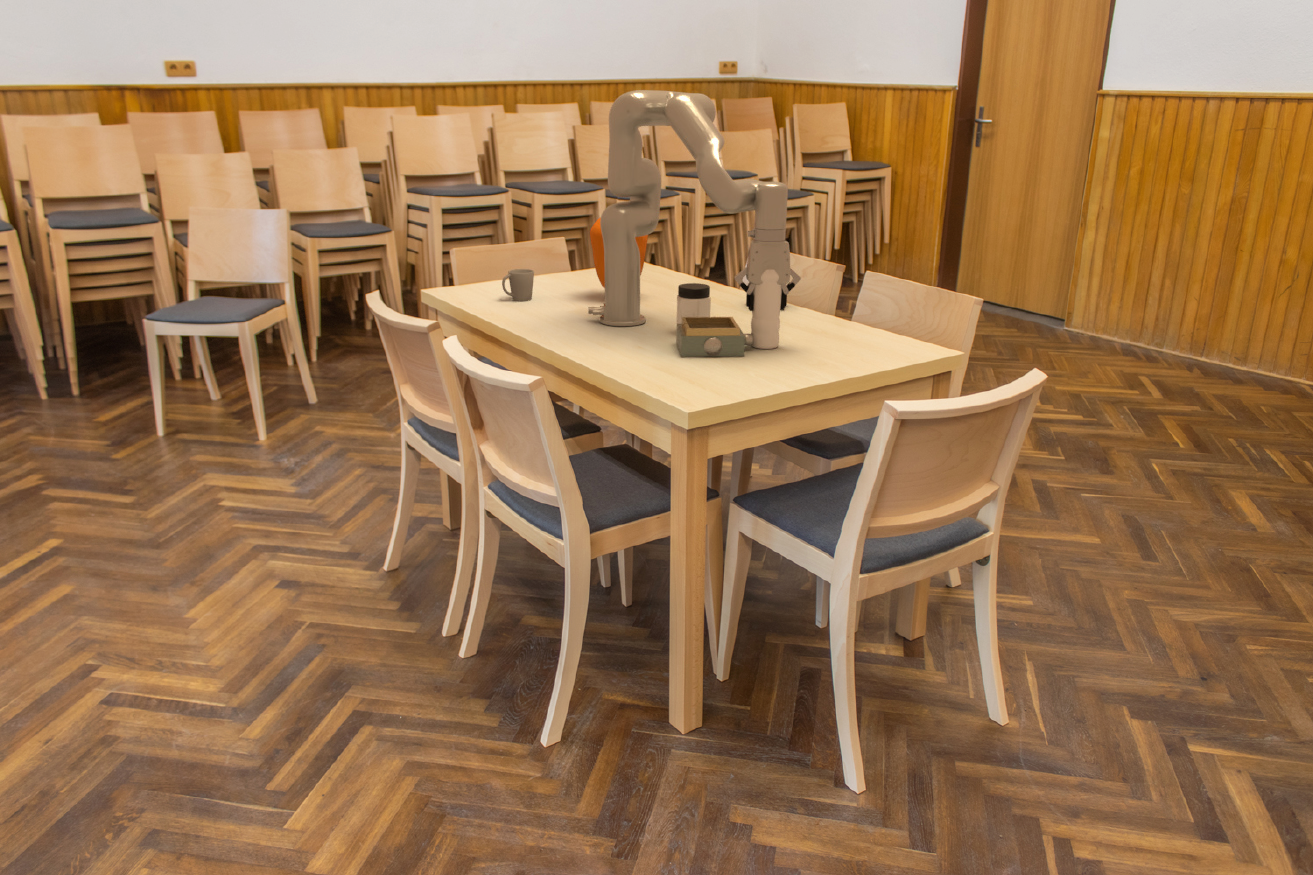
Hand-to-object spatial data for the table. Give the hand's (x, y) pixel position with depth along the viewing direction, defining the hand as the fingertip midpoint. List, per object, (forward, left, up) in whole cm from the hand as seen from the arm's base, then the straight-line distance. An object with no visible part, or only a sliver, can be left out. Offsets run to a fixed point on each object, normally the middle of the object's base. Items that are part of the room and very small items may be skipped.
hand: (766, 309), depth 236 cm
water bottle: (0, 0, -9) cm, 9 cm away
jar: (-16, +16, -10) cm, 25 cm away
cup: (-64, +58, -10) cm, 87 cm away
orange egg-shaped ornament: (-34, +59, -10) cm, 69 cm away
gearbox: (-13, -3, -9) cm, 16 cm away
